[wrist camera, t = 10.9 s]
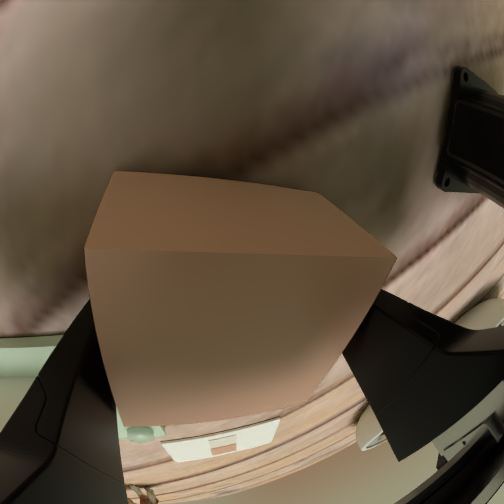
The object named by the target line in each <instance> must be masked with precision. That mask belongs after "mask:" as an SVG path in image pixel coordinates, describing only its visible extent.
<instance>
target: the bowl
mask: <svg viewBox="0 0 504 504" xmlns="http://www.w3.org/2000/svg"><path fill="white" fill-rule="evenodd" d="M455 323H456V324H458V325H460V326H463V327H465V328H468V329H473V330H482V329H488V328H493V327H499V326H504V299H501V298H492V299H488V300H485V301H483V302H481V303H479V304H478V305H476V306H475V307H473V308H472V309H470V310H469V311H468V312H466V313H465V314H464V315H463V316H462V317H460V318H459V319H458V320H457V321H456V322H455ZM356 440H357V443H358V445H359V447H360V449H361V450H362V451H365V450H368V449H371V448H372V447H375V446H377V445H379V444H381V443H383V442H385V441H386V440H387V438H386V436H385V434H384V432H383V430H382V428H381V426H380V424H379V422H378V420H377V418H376V416H375V414H374V412H373V410H372V408H371V407H370V405H368V407H367V408H366V409H365V411H364V412H363V414H362V415H361V417H360V419H359V421H358V424H357V428H356Z"/></svg>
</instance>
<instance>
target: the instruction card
mask: <svg viewBox="0 0 504 504" xmlns="http://www.w3.org/2000/svg"><path fill="white" fill-rule="evenodd" d="M280 419H281V418H280V417H277V418H274V419H270V420H267V421H263V422H260V423H256V424H252V425H249V426H245V427H241V428H237V429H232V430H228V431H223V432H219V433H214V434H209V435H203V436H198V437H192V438H186V439H179V440H172V441H164V442H161V445H162V446H163V447H164V449H165V450H166V451H167V452H168V453H169V455H170V456H171V457H172V458H173V459H174V461H175V462H176V463H178V462H185V461H192V460H198V459H204V458H209V457H214V456H219V455H224V454H228V453H233V452H237V451H241V450H245V449H249V448H253V447H256V446H260V445H264V444H267V443H270V442H272V439H273V437H274V434H275V432H276V429H277V427H278V424H279V421H280Z"/></svg>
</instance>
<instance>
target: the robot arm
mask: <svg viewBox="0 0 504 504" xmlns="http://www.w3.org/2000/svg"><path fill="white" fill-rule="evenodd" d="M436 186H437V188H439V189H441V190H442V191H444V192H465V193H480V194H482V195H484V196H485V197H487V198H488V199H490V200H492V201H493V202H495V203H496V204H498V205H499V206H501V207H502V208H504V96H503V95H500V94H498V93H497V92H496V91H495V90H493V89H492V88H491V87H490V86H489V85H488V84H486V83H485V82H484V81H483V80H481V79H480V78H479V77H478V76H476V75H475V74H474V73H473V72H471V71H470V70H469V69H467V68H465V67H461V66H457V67H456V68H455V71H454V82H453V92H452V100H451V108H450V115H449V121H448V127H447V133H446V138H445V143H444V148H443V153H442V157H441V162H440V166H439V170H438V174H437V178H436ZM342 354H343V356H344V358H345V359H346V361H347V363H348V365H349V367H350V369H351V371H352V372H353V374H354V376H355V378H356V380H357V382H358V384H359V386H360V387H361V389H362V391H363V393H364V395H365V397H366V399H367V401H368V403H369V405H370V407H371V408H372V410H373V412H374V414H375V416H376V418H377V420H378V422H379V424H380V426H381V428H382V430H383V432H384V434H385V436H386V438H387V440H388V442H389V444H390V445H391V448H392V450H393V452H394V454H395V456H396V458H397V460H398V461H399V462H400V461H401V460H403V459H405V458H406V457H408V456H410V455H411V454H413V453H414V452H416V451H418V450H419V449H421V448H422V447H423V446H425V445H427V444H428V443H430V442H431V441H432V442H433V444H434V445H435V447H436V448H437V450H438V452H439V455H438V461H437V466H436V468H437V469H438V471H437V472H436V473H435V474H433V475H432V476H431V477H430V478H429V479H427V480H426V481H425V482H423V483H422V484H421V485H420V486H418V487H417V488H416V489H414V490H413V491H412V492H410V493H409V494H408V495H406V496H405V497H403V498H402V499H400V500H399V501H397V502H396V503H395V504H487V503H488V501H489V500H490V499H491V498H492V497H493V496H494V494H495V493H496V492H497V491H498V489H499V488H500V487H501V486H502V484H503V483H504V326H499V327H493V328H488V329H482V330H473V329H468V328H465V327H463V326H460V325H458V324H456V323H453V322H451V321H448V320H446V319H444V318H441V317H439V316H437V315H434V314H432V313H430V312H427V311H425V310H423V309H421V308H419V307H417V306H415V305H413V304H411V303H408V302H407V301H405V300H403V299H401V298H399V297H397V296H395V295H393V294H391V293H389V292H387V291H385V290H383V289H381V290H380V291H379V293H378V295H377V297H376V299H375V300H374V302H373V304H372V306H371V307H370V309H369V311H368V312H367V314H366V316H365V317H364V319H363V321H362V322H361V324H360V325H359V327H358V329H357V330H356V332H355V333H354V335H353V337H352V338H351V340H350V341H349V343H348V344H347V346H346V347H345V349H344V350H343V352H342ZM0 504H128V499H127V494H126V488H125V485H124V477H123V471H122V463H121V456H120V447H119V437H118V425H117V410H116V403H115V400H114V397H113V394H112V391H111V388H110V384H109V381H108V377H107V374H106V370H105V367H104V363H103V359H102V355H101V351H100V347H99V342H98V338H97V333H96V328H95V323H94V318H93V313H92V307H91V301H90V299H89V301H88V302H87V303H86V304H85V306H84V307H83V309H82V310H81V311H80V313H79V314H78V315H77V317H76V318H75V319H74V321H73V322H72V324H71V325H70V326H69V328H68V329H67V331H66V332H65V334H64V335H63V336H62V338H61V339H60V341H59V342H58V344H57V345H56V347H55V348H54V350H53V351H52V353H51V354H50V356H49V357H48V359H47V360H46V362H45V364H44V365H43V367H42V368H41V370H40V372H39V373H38V376H36V378H35V380H34V381H33V383H32V385H31V386H30V388H29V389H28V391H27V393H26V394H25V396H24V398H23V399H22V401H21V402H20V404H19V405H18V407H17V408H16V410H15V411H14V413H13V414H12V415H11V417H10V418H9V420H8V421H7V423H6V424H5V426H4V427H3V429H2V431H1V432H0Z"/></svg>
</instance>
